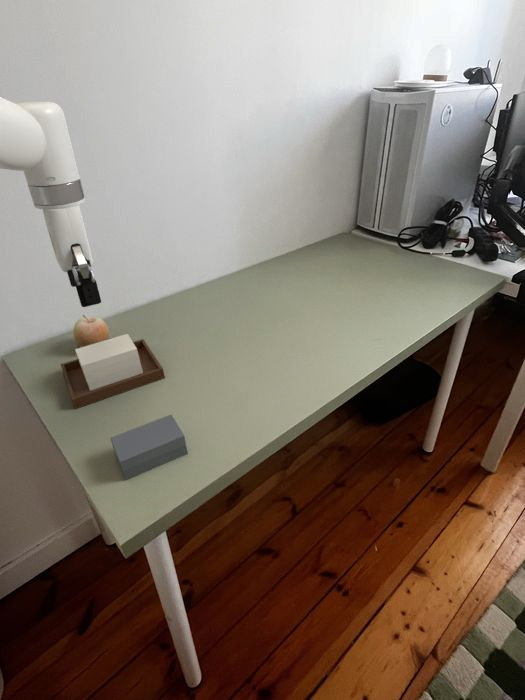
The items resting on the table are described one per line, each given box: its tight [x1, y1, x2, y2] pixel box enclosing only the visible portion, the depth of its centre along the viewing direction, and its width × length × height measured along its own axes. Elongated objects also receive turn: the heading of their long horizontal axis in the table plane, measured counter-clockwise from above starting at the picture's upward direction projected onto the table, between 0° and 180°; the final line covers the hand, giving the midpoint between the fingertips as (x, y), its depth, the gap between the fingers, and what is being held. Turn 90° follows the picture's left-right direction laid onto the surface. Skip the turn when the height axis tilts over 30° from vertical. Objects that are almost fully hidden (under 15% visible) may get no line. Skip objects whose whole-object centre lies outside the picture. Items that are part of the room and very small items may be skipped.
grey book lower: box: [112, 444, 188, 481], centre depth 69 cm, size 10×6×2 cm, turn 120°
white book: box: [74, 333, 139, 374], centre depth 84 cm, size 10×7×2 cm, turn 120°
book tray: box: [60, 338, 166, 410], centre depth 87 cm, size 17×13×2 cm
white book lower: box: [83, 365, 143, 391], centre depth 87 cm, size 10×7×2 cm, turn 120°
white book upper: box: [79, 357, 141, 383], centre depth 85 cm, size 10×7×2 cm, turn 120°
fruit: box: [73, 314, 110, 348], centre depth 95 cm, size 8×7×8 cm
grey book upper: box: [110, 414, 187, 471], centre depth 67 cm, size 10×6×2 cm, turn 120°
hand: (85, 294), depth 76 cm, fingers open, 9 cm apart
